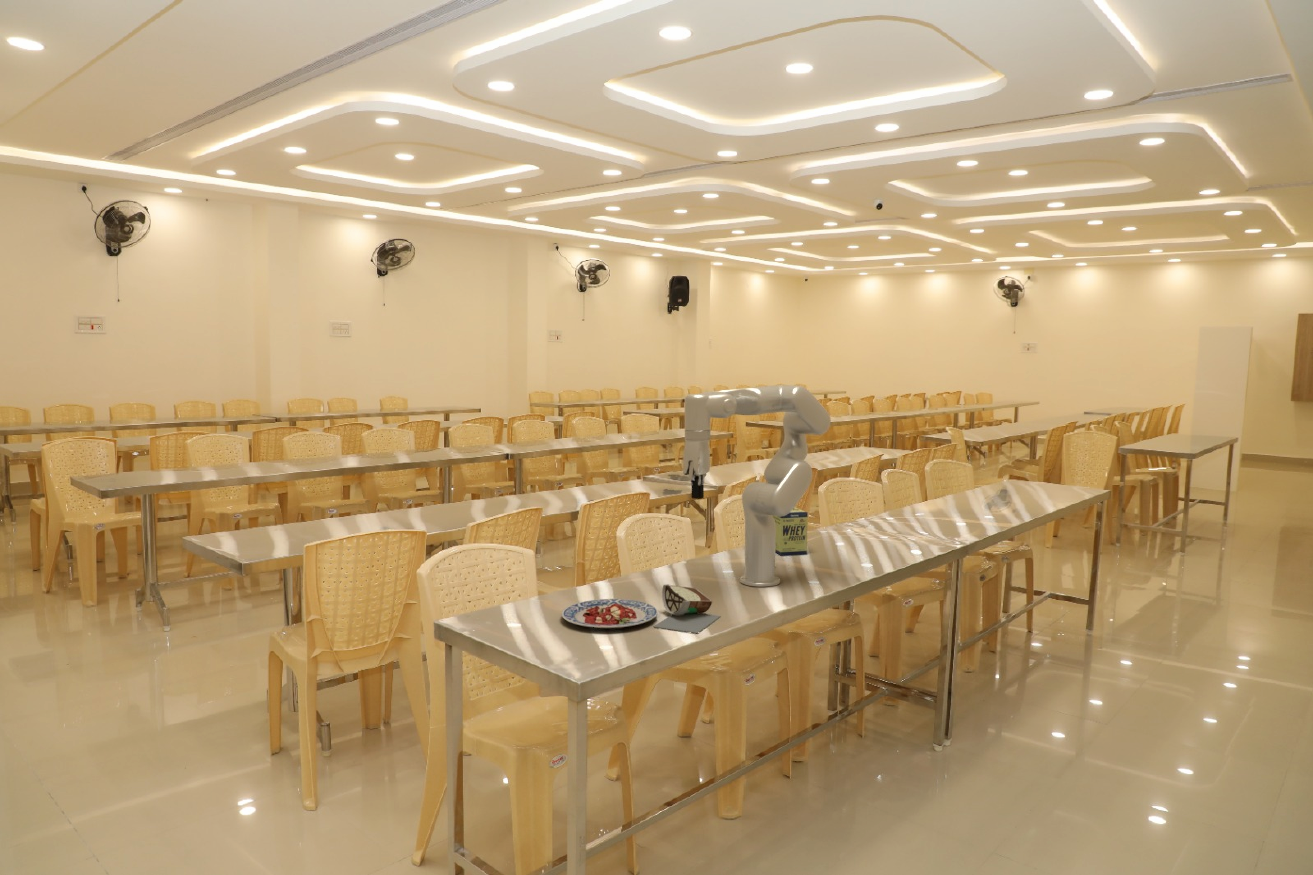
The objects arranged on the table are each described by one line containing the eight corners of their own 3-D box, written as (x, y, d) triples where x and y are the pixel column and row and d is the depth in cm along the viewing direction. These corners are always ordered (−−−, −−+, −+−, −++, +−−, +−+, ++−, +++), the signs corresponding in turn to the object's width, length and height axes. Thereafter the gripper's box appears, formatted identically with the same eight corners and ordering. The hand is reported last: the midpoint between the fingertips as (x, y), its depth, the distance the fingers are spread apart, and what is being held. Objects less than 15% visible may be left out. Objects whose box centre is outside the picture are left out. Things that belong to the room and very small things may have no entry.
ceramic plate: (551, 612, 238) (551, 601, 237) (638, 602, 247) (638, 592, 246) (576, 639, 214) (576, 628, 213) (671, 628, 223) (671, 616, 222)
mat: (678, 611, 237) (678, 610, 237) (720, 617, 231) (720, 616, 231) (653, 627, 222) (653, 626, 222) (697, 634, 217) (697, 632, 217)
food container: (687, 606, 242) (657, 604, 237) (692, 585, 241) (662, 584, 236) (709, 624, 231) (678, 623, 227) (715, 603, 231) (684, 601, 226)
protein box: (780, 556, 304) (781, 513, 303) (765, 547, 319) (765, 506, 318) (807, 554, 307) (808, 512, 305) (791, 546, 322) (791, 505, 320)
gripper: (695, 433, 258) (695, 494, 259) (675, 437, 244) (675, 501, 246) (718, 434, 255) (718, 495, 256) (699, 438, 241) (699, 503, 243)
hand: (697, 498), depth 251 cm, fingers closed
